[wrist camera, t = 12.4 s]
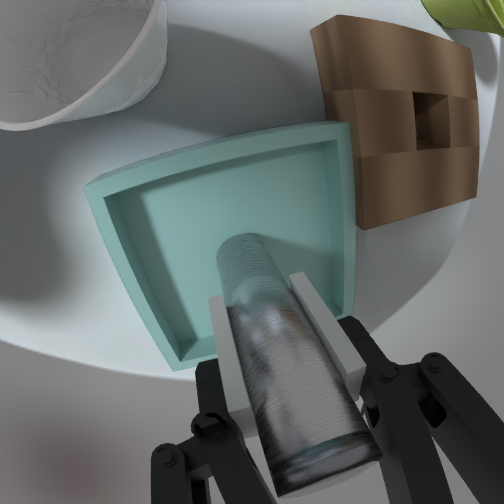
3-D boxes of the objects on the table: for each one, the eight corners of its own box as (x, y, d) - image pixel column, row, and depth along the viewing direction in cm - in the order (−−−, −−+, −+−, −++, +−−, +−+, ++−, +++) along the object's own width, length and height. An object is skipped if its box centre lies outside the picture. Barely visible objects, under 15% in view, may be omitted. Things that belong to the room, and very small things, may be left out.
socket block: (335, 210, 21) (363, 230, 17) (310, 30, 14) (337, 14, 10) (447, 184, 22) (476, 197, 19) (438, 49, 15) (469, 48, 12)
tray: (172, 346, 23) (173, 371, 21) (98, 176, 16) (83, 186, 13) (338, 298, 25) (352, 318, 22) (326, 120, 17) (349, 122, 15)
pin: (223, 285, 20) (282, 502, 7) (210, 242, 18) (270, 490, 5) (270, 272, 20) (372, 469, 7) (262, 228, 18) (395, 441, 5)
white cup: (182, 105, 15) (172, 85, 6) (69, 136, 14) (-27, 164, 5) (172, 2, 11) (165, -87, 3) (61, 35, 10) (-21, -5, 1)
